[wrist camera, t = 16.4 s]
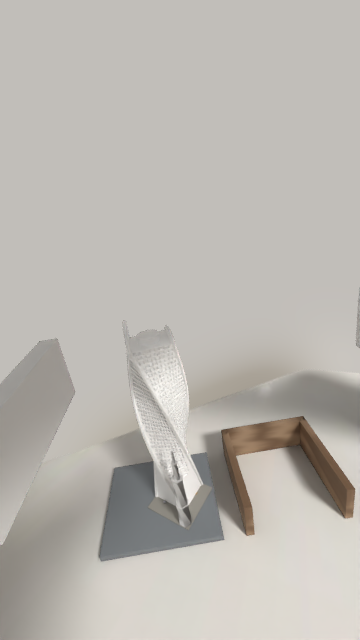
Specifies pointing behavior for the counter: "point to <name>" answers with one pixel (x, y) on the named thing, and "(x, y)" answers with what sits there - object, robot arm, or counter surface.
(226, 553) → the counter surface
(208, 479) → the slate mat
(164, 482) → the twisted skyscraper model
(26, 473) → the robot arm
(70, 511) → the counter surface
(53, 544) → the counter surface
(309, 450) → the walnut bay
